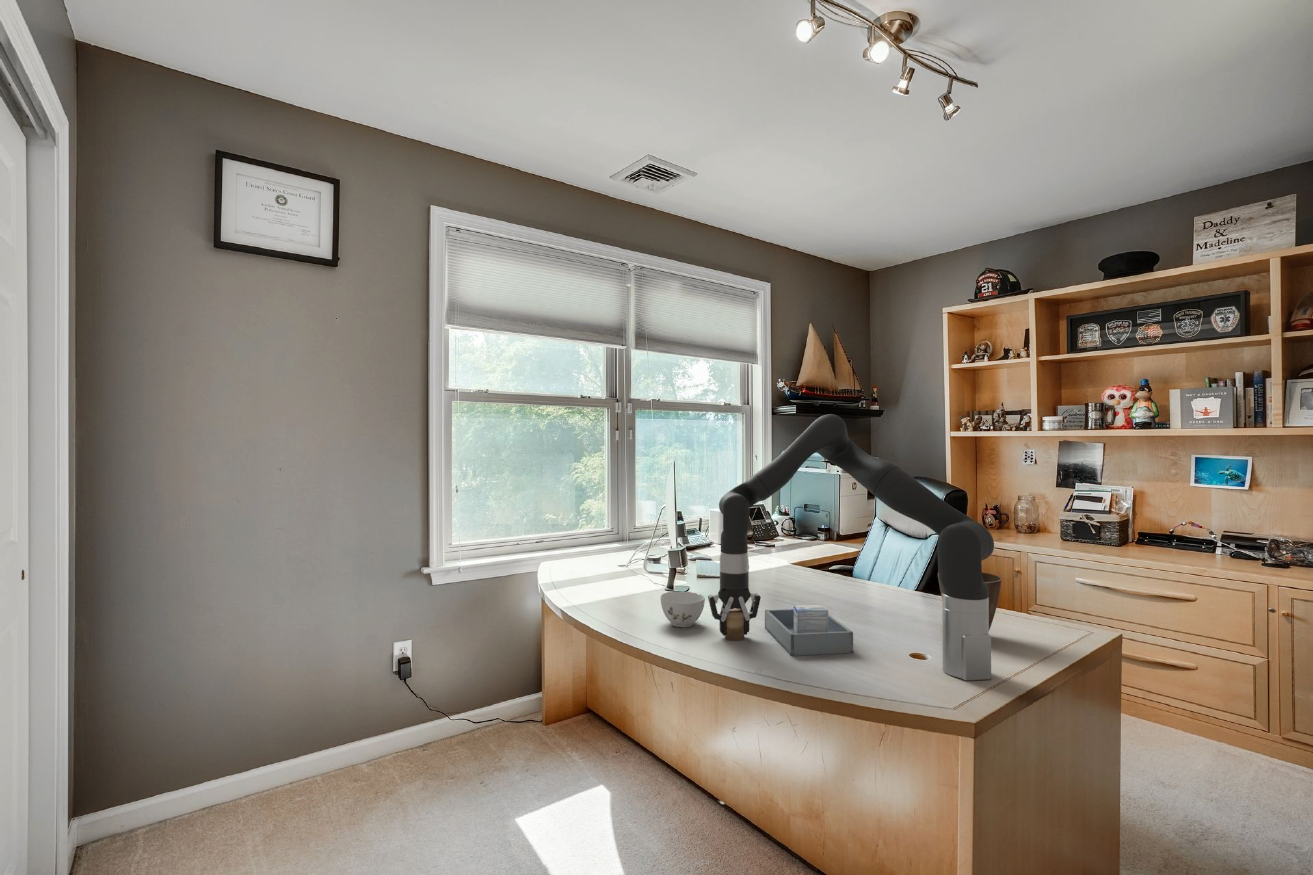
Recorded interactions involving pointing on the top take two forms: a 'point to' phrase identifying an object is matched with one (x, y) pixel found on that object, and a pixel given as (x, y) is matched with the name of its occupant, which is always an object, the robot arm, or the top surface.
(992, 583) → the plant pot
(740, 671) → the top surface
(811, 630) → the medicine box
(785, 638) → the tote
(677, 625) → the teacup
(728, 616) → the tan bread loaf
